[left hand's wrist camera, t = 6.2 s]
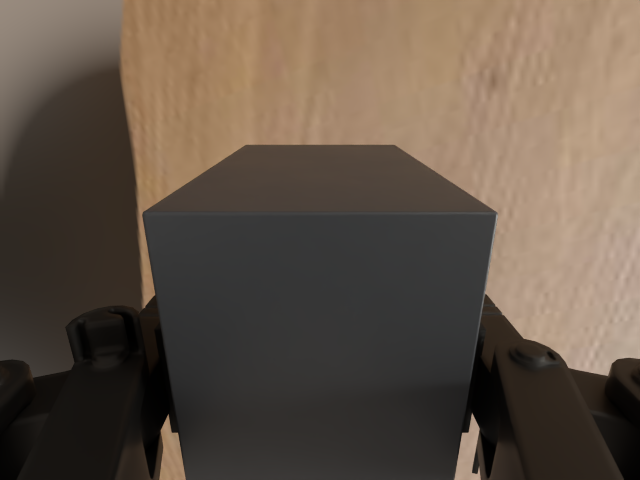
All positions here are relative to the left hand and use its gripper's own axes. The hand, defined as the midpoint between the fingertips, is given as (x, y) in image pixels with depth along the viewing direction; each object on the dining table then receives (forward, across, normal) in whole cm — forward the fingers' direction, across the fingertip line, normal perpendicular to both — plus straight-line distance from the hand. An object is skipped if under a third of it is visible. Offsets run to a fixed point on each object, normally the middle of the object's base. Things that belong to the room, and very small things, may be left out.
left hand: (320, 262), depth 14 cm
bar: (+1, 0, -9) cm, 9 cm away
